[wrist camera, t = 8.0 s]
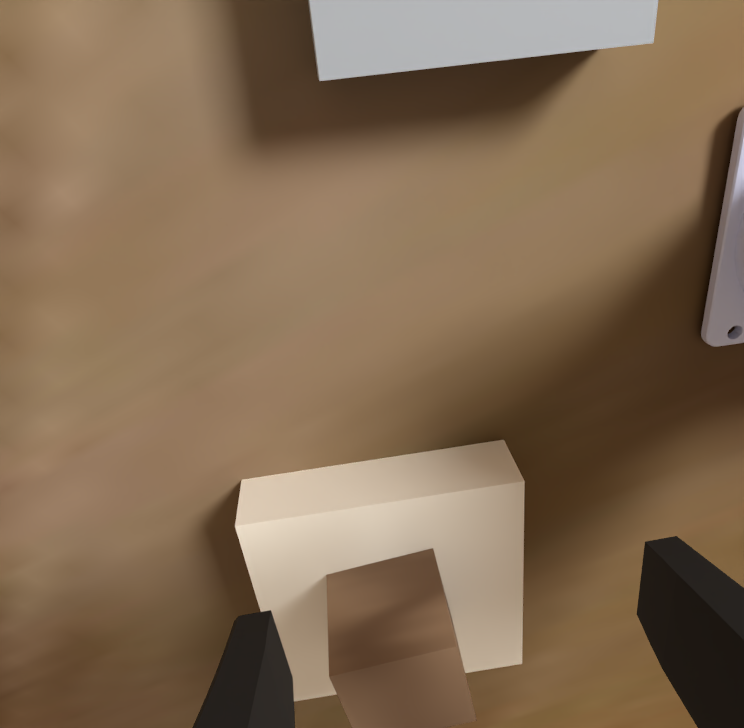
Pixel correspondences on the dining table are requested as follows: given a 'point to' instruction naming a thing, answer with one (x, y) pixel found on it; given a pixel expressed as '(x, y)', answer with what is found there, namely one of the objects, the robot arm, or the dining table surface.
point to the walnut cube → (395, 646)
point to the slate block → (466, 31)
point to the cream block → (390, 546)
